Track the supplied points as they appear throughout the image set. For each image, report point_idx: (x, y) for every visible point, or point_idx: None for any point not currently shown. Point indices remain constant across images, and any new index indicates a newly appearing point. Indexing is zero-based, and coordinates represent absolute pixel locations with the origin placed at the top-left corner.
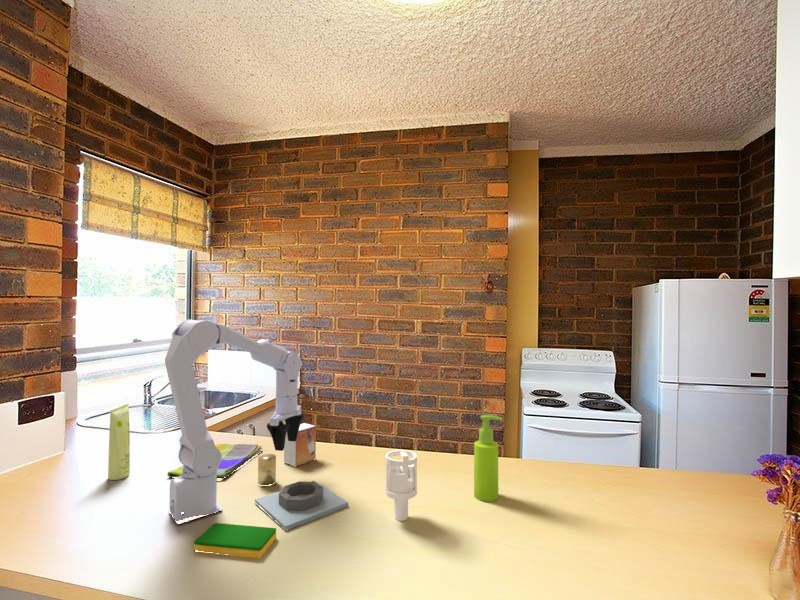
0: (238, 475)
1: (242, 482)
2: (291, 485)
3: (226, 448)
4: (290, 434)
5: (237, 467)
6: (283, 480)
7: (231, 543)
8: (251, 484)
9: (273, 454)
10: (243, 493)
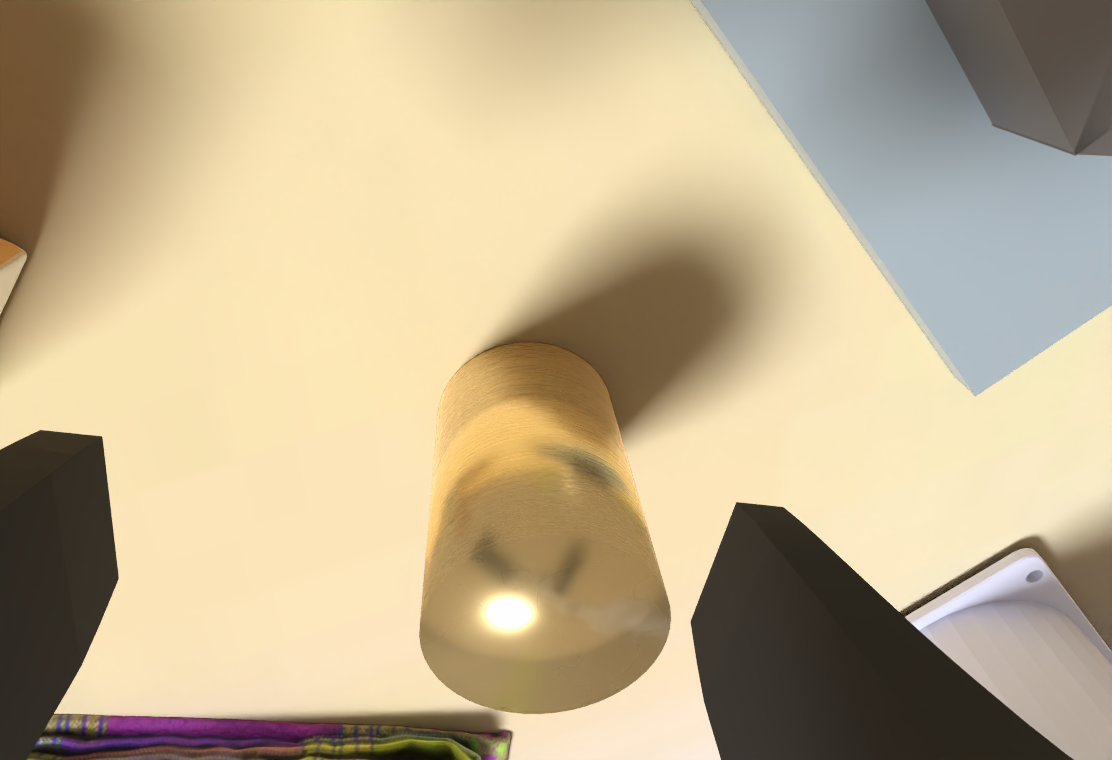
0: (372, 679)
1: None
2: (1088, 58)
3: None
4: (22, 676)
5: (247, 745)
6: (446, 280)
7: None
8: None
9: (439, 592)
10: None
